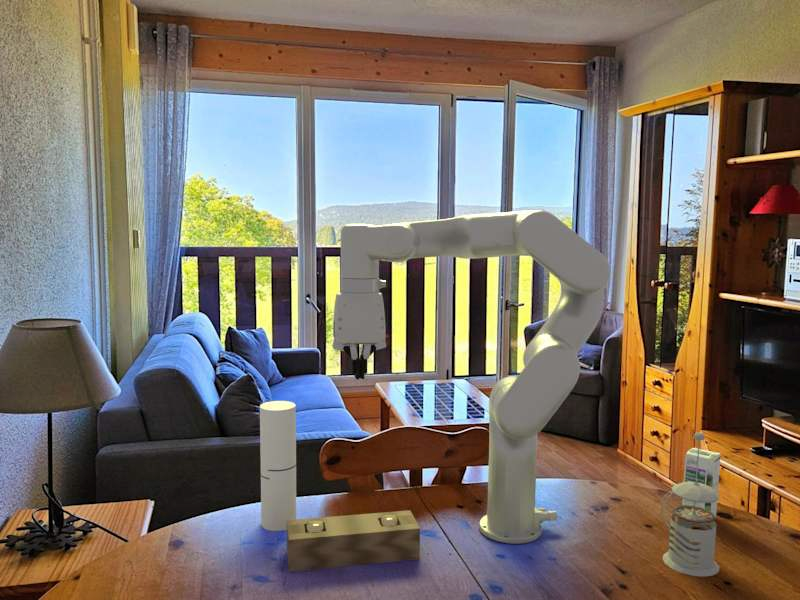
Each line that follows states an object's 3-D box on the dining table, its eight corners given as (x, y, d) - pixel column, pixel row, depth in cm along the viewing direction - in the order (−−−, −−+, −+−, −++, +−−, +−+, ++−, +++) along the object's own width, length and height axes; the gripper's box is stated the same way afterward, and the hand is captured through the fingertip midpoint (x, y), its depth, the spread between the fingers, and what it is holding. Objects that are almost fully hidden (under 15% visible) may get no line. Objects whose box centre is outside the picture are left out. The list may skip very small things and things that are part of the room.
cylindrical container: (289, 532, 138) (288, 411, 134) (255, 529, 139) (254, 409, 136) (301, 517, 144) (300, 402, 141) (269, 514, 146) (268, 399, 143)
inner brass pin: (395, 543, 132) (395, 514, 131) (398, 551, 129) (398, 520, 128) (379, 545, 131) (380, 515, 131) (382, 552, 129) (383, 522, 128)
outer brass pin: (322, 550, 129) (322, 520, 128) (324, 558, 126) (324, 527, 126) (306, 551, 129) (306, 521, 128) (307, 559, 126) (307, 528, 125)
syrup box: (680, 518, 146) (684, 452, 145) (689, 509, 151) (693, 445, 149) (708, 526, 143) (713, 459, 141) (716, 517, 147) (721, 451, 145)
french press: (694, 581, 121) (703, 444, 118) (643, 552, 131) (651, 425, 128) (731, 568, 125) (741, 436, 122) (679, 541, 136) (687, 419, 133)
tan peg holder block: (409, 539, 135) (410, 510, 135) (419, 559, 128) (420, 528, 127) (286, 550, 130) (286, 520, 130) (289, 571, 123) (288, 539, 122)
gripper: (392, 284, 140) (392, 372, 143) (319, 285, 137) (320, 374, 139) (400, 288, 133) (399, 380, 135) (323, 289, 130) (323, 383, 132)
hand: (359, 377), depth 137 cm, fingers closed
